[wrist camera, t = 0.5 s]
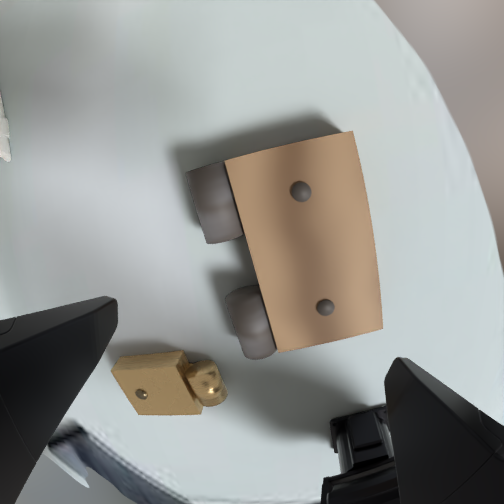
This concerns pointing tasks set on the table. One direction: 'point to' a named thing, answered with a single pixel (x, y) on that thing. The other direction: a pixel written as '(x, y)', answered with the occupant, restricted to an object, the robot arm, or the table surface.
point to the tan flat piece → (295, 242)
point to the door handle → (4, 134)
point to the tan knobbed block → (169, 383)
